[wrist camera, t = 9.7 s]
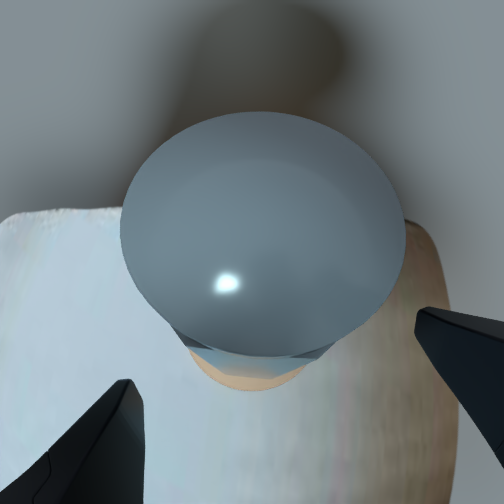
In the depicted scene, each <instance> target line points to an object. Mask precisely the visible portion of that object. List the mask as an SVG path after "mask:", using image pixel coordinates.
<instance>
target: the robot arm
mask: <svg viewBox="0 0 504 504" xmlns="http://www.w3.org/2000/svg"><path fill="white" fill-rule="evenodd" d="M414 333H415V337H416V339H417V340H418V342H419V343H420V345H421V347H422V348H423V350H424V351H425V353H426V355H427V356H428V358H429V359H430V361H431V363H432V364H433V366H434V367H435V369H436V370H437V372H438V373H439V375H440V376H441V377H442V379H443V380H444V381H445V383H446V384H447V385H448V387H449V388H450V389H451V391H452V392H453V393H454V395H455V396H456V397H457V399H458V400H459V402H460V403H461V404H462V406H463V407H464V409H465V410H466V411H467V413H468V414H469V416H470V417H471V418H472V420H473V422H474V423H475V424H476V426H477V427H478V429H479V430H480V432H481V433H482V435H483V436H484V438H485V439H486V441H487V442H488V444H489V446H490V447H491V448H492V450H493V452H495V455H496V457H497V459H498V460H499V462H500V463H501V465H502V467H503V468H504V322H502V321H498V320H493V319H487V318H483V317H478V316H473V315H468V314H463V313H458V312H453V311H448V310H444V309H439V308H434V307H425V308H422V309H420V310H419V311H418V312H417V316H416V323H415V329H414ZM144 464H145V432H144V405H143V400H142V398H141V396H140V394H139V392H138V390H137V388H136V386H135V384H134V382H133V381H132V380H131V379H121V380H118V381H116V382H115V383H114V384H113V385H112V386H111V387H110V388H109V389H108V390H107V391H106V392H105V393H104V394H103V395H102V396H101V397H100V398H99V399H98V400H97V401H96V402H95V403H94V404H93V405H92V406H91V407H90V408H89V409H88V410H87V411H86V412H85V413H84V414H83V415H82V416H81V417H80V418H79V419H78V420H77V421H76V422H75V423H74V424H73V425H72V426H71V427H70V428H69V429H68V430H67V431H66V432H65V433H64V434H63V435H62V436H61V437H60V438H59V439H58V440H57V441H56V442H55V443H54V444H53V445H52V446H51V447H50V448H49V449H48V451H46V452H45V453H44V454H43V455H42V456H41V457H40V458H39V459H38V460H37V461H36V462H35V463H34V464H33V465H32V466H31V467H30V468H29V469H28V470H26V471H25V472H24V473H23V474H22V475H21V476H19V477H18V478H17V479H16V480H15V481H13V482H12V483H11V484H10V485H8V486H7V487H6V488H5V489H3V490H2V491H1V492H0V504H143V492H144Z"/></svg>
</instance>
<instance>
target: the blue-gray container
mask: <svg viewBox="0 0 504 504" xmlns="http://www.w3.org/2000/svg"><path fill="white" fill-rule="evenodd" d="M120 239H121V246H122V252H123V256H124V259H125V262H126V266H127V269H128V271H129V273H130V275H131V277H132V279H133V281H134V283H135V285H136V287H137V288H138V290H139V291H140V292H141V294H142V295H143V297H144V298H145V299H146V301H147V302H148V303H149V304H150V305H151V306H152V307H153V308H154V309H155V310H156V311H157V312H158V313H159V314H160V315H161V316H162V317H163V318H164V319H165V320H166V321H167V322H168V323H169V324H170V325H171V327H172V328H173V329H174V331H175V332H176V334H177V335H178V336H179V338H180V339H181V341H182V342H183V343H184V345H185V346H186V347H187V348H189V349H190V350H191V351H193V352H194V353H195V354H197V355H198V356H200V357H201V358H202V359H204V360H205V361H206V362H208V363H209V364H211V365H212V366H213V367H215V368H216V369H218V370H219V371H221V372H222V373H223V374H225V375H231V376H239V377H249V378H260V379H274V378H276V377H279V376H281V375H283V374H286V373H288V372H290V371H293V370H295V369H297V368H299V367H302V366H304V365H306V364H308V363H310V362H312V361H315V360H317V359H318V358H319V357H320V356H321V355H323V354H324V353H325V352H326V351H327V350H328V349H329V348H330V347H331V346H332V345H333V344H334V343H335V342H336V341H338V340H339V339H341V338H342V337H344V336H346V335H347V334H349V333H350V332H352V331H353V330H355V329H356V328H358V327H359V326H361V325H362V324H363V323H364V322H365V321H367V320H368V319H369V318H370V317H371V316H372V315H373V314H374V313H375V312H376V311H377V310H378V309H379V308H380V306H381V305H382V304H383V302H384V301H385V300H386V299H387V297H388V296H389V294H390V292H391V291H392V289H393V287H394V285H395V283H396V281H397V279H398V276H399V273H400V271H401V268H402V265H403V260H404V254H405V248H406V229H405V222H404V216H403V212H402V208H401V205H400V202H399V199H398V197H397V194H396V192H395V190H394V188H393V186H392V184H391V183H390V181H389V179H388V178H387V176H386V174H385V173H384V172H383V171H382V169H381V168H380V167H379V165H378V164H377V163H376V162H375V161H374V160H373V159H372V158H371V157H370V156H369V155H368V154H367V153H366V152H365V151H364V150H363V149H362V148H361V147H359V146H358V145H357V144H356V143H354V142H353V141H351V140H350V139H348V138H347V137H346V136H344V135H342V134H341V133H338V132H336V131H335V130H333V129H331V128H329V127H327V126H325V125H322V124H320V123H318V122H315V121H311V120H309V119H306V118H302V117H298V116H293V115H289V114H282V113H275V112H243V113H235V114H229V115H224V116H219V117H216V118H212V119H209V120H206V121H203V122H201V123H198V124H196V125H193V126H192V127H189V128H187V129H185V130H183V131H182V132H180V133H178V134H176V135H175V136H173V137H172V138H171V139H169V140H168V141H167V142H165V143H164V144H162V145H161V146H160V147H159V148H158V149H157V150H156V151H155V152H154V153H153V154H152V155H151V156H150V157H149V158H148V159H147V160H146V161H145V163H144V164H143V165H142V166H141V168H140V169H139V171H138V172H137V174H136V175H135V177H134V179H133V181H132V183H131V185H130V187H129V189H128V192H127V194H126V197H125V200H124V203H123V208H122V214H121V220H120Z"/></svg>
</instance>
